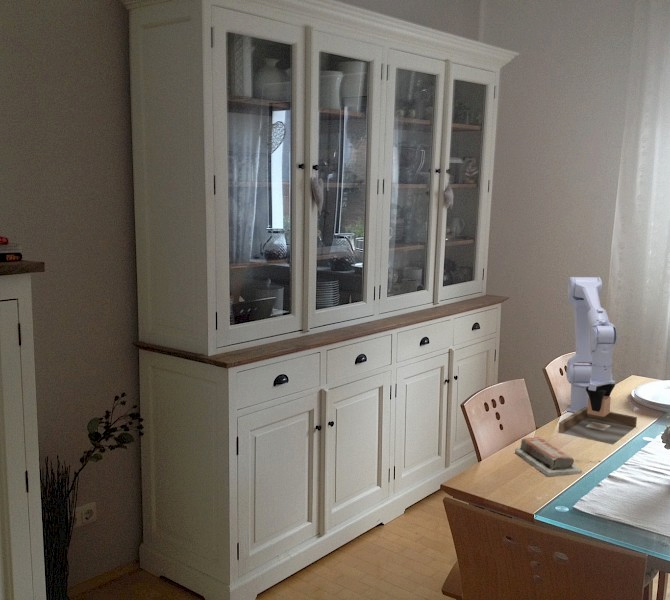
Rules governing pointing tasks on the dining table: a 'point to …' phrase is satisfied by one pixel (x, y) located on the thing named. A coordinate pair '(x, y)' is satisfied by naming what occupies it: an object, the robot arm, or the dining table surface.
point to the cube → (604, 407)
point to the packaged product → (546, 457)
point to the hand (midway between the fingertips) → (599, 408)
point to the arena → (598, 426)
